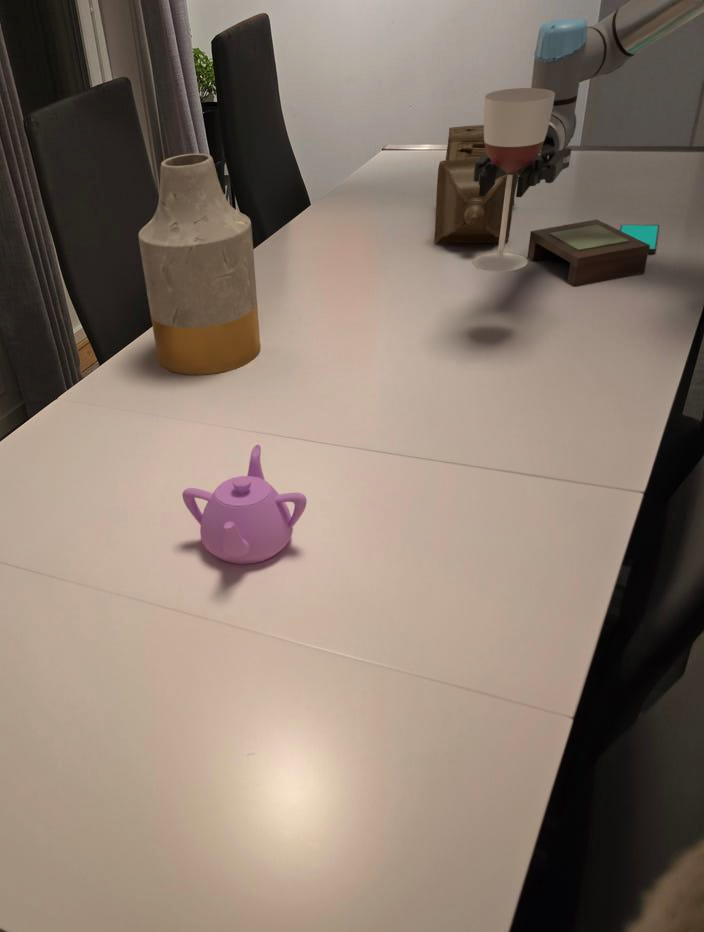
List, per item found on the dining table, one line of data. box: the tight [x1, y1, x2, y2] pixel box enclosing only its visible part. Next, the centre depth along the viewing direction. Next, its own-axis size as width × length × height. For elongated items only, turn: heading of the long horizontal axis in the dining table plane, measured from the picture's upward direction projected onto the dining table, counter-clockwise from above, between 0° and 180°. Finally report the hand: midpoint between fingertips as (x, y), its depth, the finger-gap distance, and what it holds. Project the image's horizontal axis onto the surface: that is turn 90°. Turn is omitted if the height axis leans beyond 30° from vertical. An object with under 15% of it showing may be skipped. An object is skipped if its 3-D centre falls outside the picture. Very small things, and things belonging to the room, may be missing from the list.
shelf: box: [526, 219, 650, 287], centre depth 159 cm, size 18×14×5 cm
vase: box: [138, 153, 261, 376], centre depth 138 cm, size 18×18×30 cm
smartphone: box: [619, 224, 660, 254], centre depth 167 cm, size 7×1×15 cm
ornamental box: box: [434, 124, 519, 244], centre depth 176 cm, size 35×18×18 cm, turn 164°
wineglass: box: [471, 87, 555, 273], centre depth 127 cm, size 9×10×23 cm
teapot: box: [181, 444, 307, 565], centre depth 101 cm, size 12×14×9 cm
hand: (501, 186), depth 123 cm, fingers closed on wineglass, 5 cm apart
